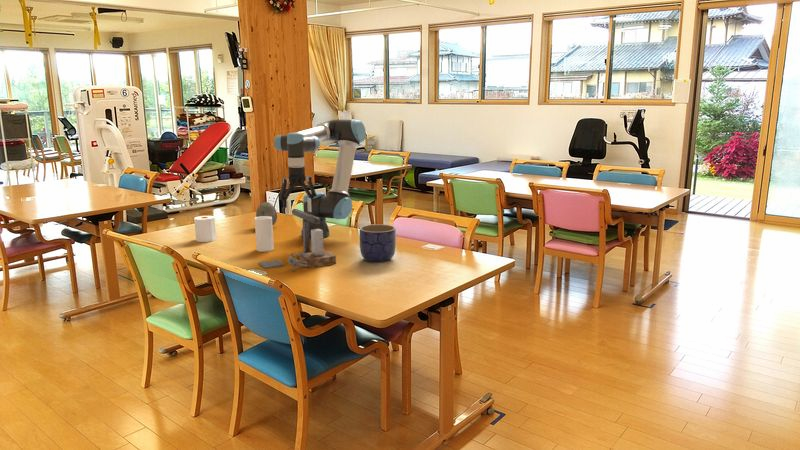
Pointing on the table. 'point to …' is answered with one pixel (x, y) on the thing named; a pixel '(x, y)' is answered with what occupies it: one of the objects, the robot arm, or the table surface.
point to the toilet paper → (205, 228)
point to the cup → (264, 233)
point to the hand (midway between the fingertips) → (298, 212)
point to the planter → (377, 242)
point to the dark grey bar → (306, 216)
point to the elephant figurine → (295, 262)
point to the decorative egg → (267, 211)
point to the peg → (317, 242)
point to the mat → (271, 264)
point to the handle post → (305, 238)
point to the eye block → (318, 259)
